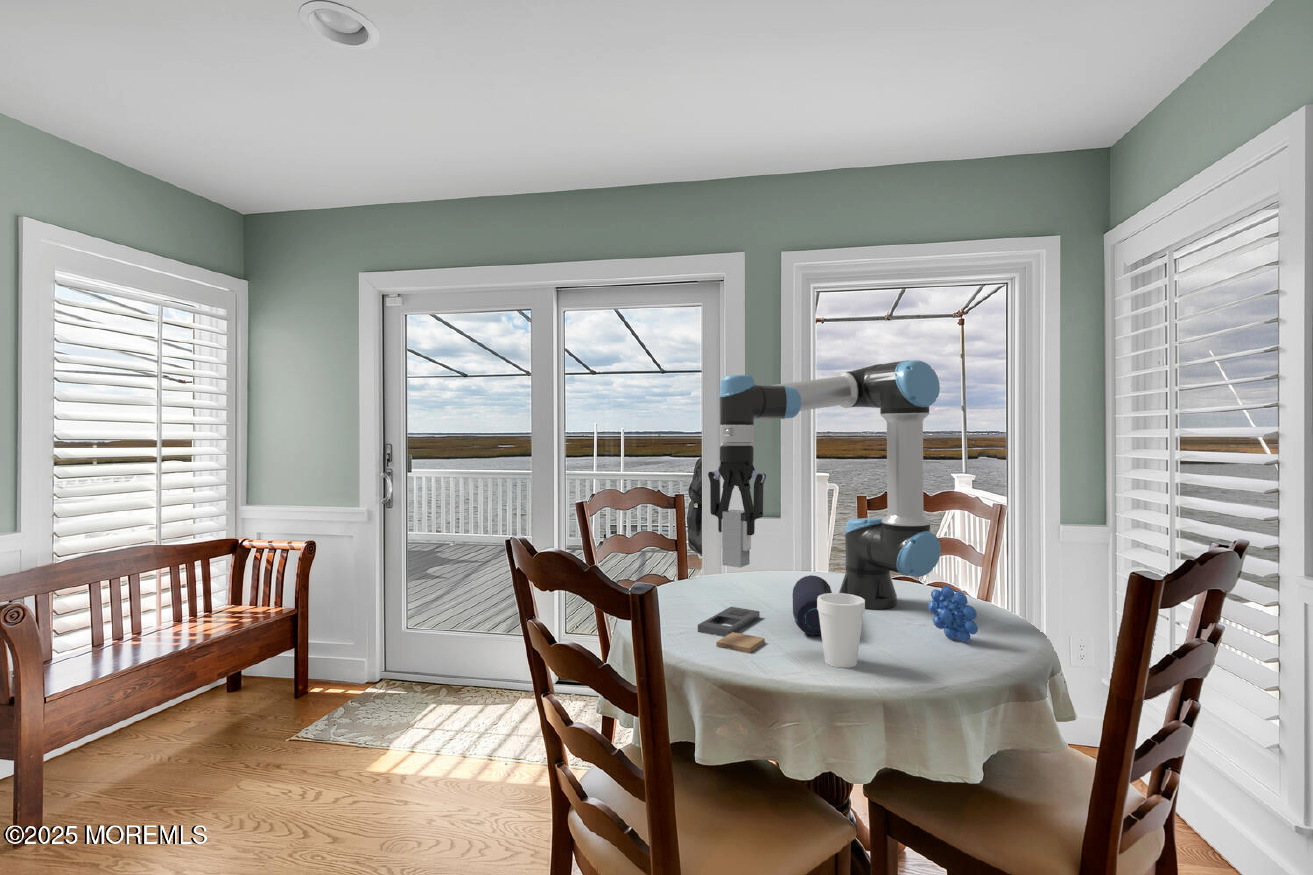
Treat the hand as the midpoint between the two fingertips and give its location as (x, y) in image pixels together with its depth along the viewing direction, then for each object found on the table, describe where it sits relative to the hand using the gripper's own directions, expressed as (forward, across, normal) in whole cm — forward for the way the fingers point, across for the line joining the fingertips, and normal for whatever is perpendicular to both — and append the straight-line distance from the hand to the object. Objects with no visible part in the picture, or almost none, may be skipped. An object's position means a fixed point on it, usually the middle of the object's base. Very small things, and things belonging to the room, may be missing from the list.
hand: (736, 548), depth 146 cm
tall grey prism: (+4, 0, 0) cm, 4 cm away
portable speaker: (+21, +10, +23) cm, 33 cm away
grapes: (+21, +40, +27) cm, 53 cm away
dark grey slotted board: (+21, -7, +11) cm, 25 cm away
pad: (+21, +2, -1) cm, 21 cm away
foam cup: (+21, +24, 0) cm, 32 cm away
